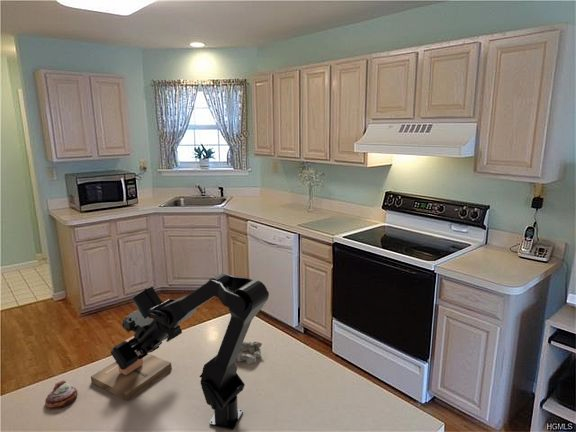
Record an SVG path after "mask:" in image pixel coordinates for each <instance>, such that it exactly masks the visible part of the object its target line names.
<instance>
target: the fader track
mask: <svg viewBox="0 0 576 432" xmlns="http://www.w3.org/2000/svg"><path fill="white" fill-rule="evenodd" d="M147 354H148V355H147V356H145V357H143V364H142V365H141V366H139V367H138V368H136V369H135V370H133V371H132V372H130V373H129V374H127V375H125V374H122V373H120V372H119V368H118V364H117V362H116V361H114V362H112V363H111V364H109V365H107V366H106V367H104V368H103V369H101V370H99V371H97V372H96V373H94V374H92V375H91V376H90V380H91V383H92V384H93V385H95V386H97V387H100V388H102V389H104V390H105V391H107V392H109V393H111V394H114V395H115V396H117V397H119V398H121V399H123V400H124V401H129V400H130V399H131V398H133V397H134V396H136V395H137V394H139V393H140V392H141V391H143V390H144V389H145V388H147V387H148V386H149V385H151V384H152V383H154V382H155V381H157V380H158V379H159V378H161V377H163V375H165V374H167V373H168V372H170V371H171V370H172V362H170V361H168V360H165V359H163V358H160V357H158V356H156V355H154V354H151V353H147Z"/></svg>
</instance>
